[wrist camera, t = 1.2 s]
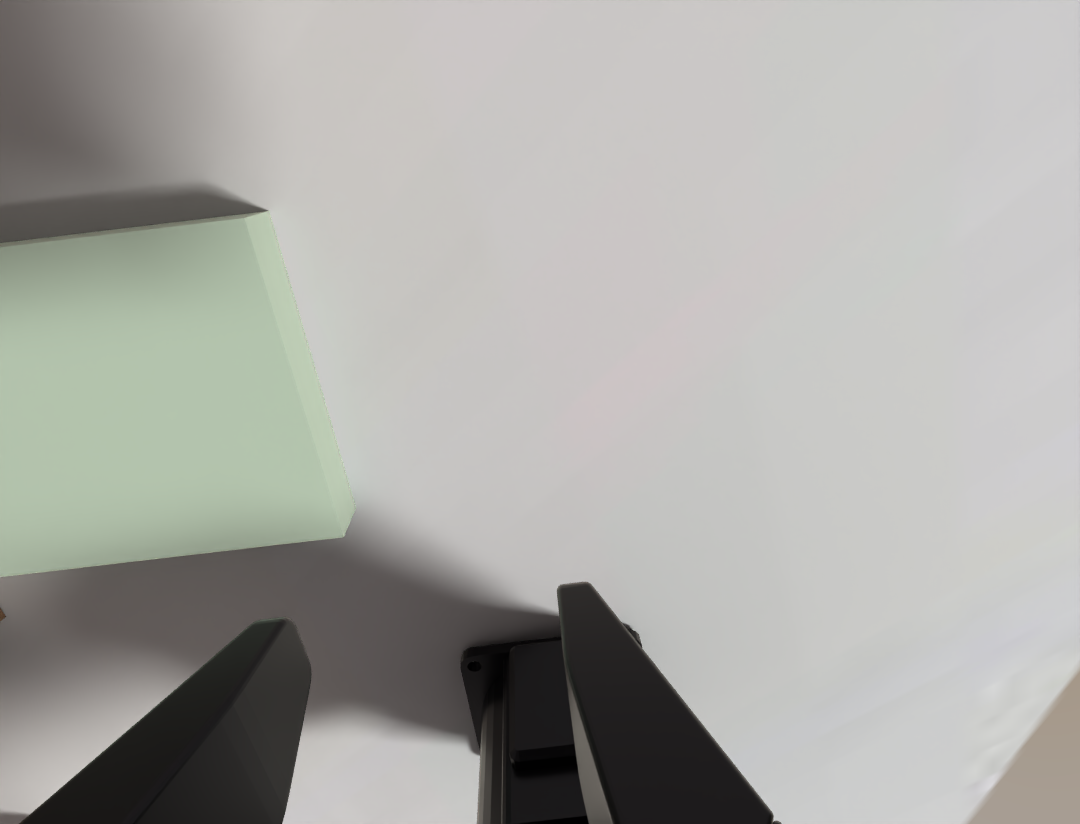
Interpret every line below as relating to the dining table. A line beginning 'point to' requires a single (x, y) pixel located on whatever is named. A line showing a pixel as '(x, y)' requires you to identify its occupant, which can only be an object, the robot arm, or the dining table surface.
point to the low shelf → (2, 615)
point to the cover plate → (159, 399)
